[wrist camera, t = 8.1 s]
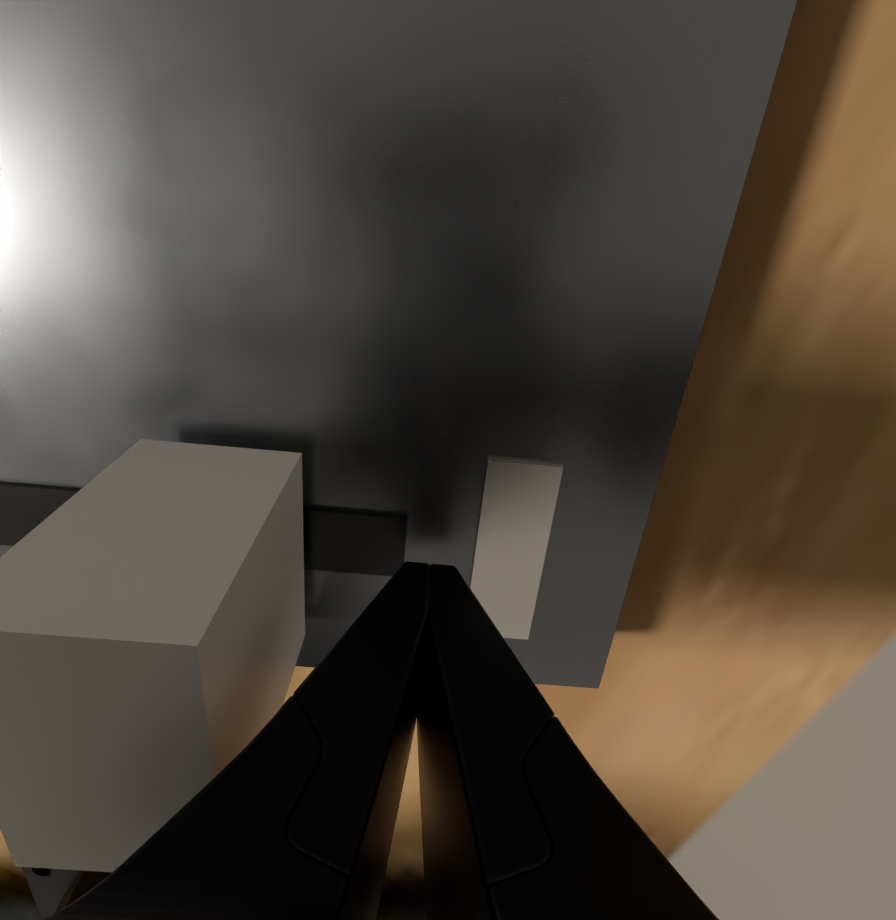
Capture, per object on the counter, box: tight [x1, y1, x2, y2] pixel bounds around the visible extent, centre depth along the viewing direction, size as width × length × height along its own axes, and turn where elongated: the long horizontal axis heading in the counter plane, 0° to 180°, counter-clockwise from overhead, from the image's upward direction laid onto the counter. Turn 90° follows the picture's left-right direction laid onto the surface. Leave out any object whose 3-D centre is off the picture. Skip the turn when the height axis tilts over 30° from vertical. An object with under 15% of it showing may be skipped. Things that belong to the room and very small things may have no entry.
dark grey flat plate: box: [0, 0, 797, 688], centre depth 8 cm, size 16×19×2 cm
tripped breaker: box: [0, 439, 305, 872], centre depth 8 cm, size 4×2×4 cm, turn 175°
